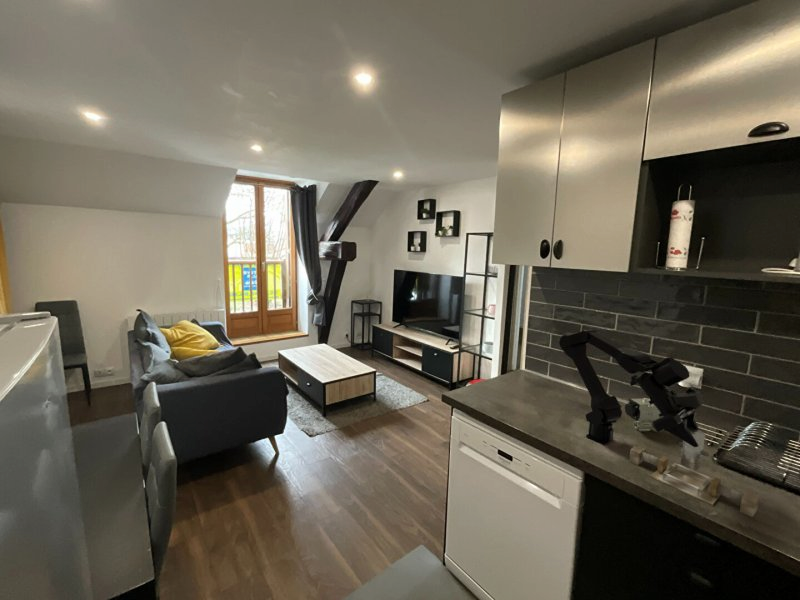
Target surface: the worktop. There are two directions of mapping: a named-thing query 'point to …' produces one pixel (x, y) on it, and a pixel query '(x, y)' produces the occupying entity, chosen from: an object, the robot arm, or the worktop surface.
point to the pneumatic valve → (642, 413)
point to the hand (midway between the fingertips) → (699, 443)
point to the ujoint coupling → (693, 451)
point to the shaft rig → (694, 482)
